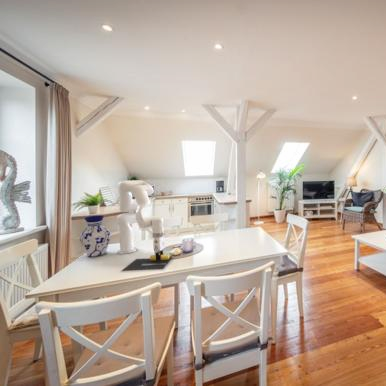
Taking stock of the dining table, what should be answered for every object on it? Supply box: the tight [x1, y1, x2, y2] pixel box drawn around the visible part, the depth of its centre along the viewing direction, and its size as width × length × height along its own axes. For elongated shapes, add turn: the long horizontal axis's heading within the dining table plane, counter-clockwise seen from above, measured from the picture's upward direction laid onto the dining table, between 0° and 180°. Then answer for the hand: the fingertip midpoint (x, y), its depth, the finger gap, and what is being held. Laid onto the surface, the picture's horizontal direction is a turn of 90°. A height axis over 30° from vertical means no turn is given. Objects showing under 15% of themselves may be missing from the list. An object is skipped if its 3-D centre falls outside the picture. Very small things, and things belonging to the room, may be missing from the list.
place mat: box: [121, 257, 173, 272], centre depth 157 cm, size 20×26×1 cm
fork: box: [141, 263, 166, 266], centre depth 156 cm, size 16×2×1 cm, turn 97°
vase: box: [79, 215, 112, 258], centre depth 174 cm, size 19×19×30 cm
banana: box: [148, 254, 173, 261], centre depth 164 cm, size 15×4×4 cm, turn 97°
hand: (159, 258), depth 164 cm, fingers closed on banana, 4 cm apart
